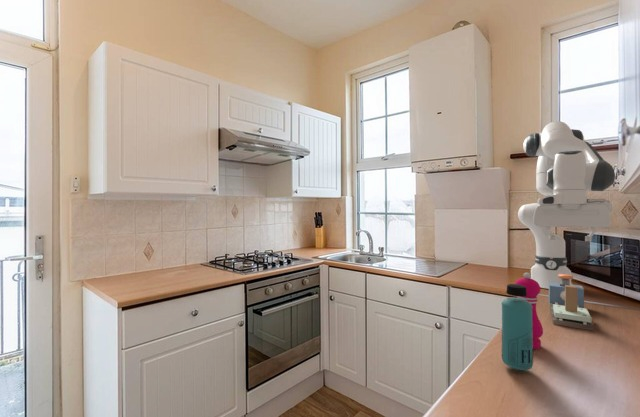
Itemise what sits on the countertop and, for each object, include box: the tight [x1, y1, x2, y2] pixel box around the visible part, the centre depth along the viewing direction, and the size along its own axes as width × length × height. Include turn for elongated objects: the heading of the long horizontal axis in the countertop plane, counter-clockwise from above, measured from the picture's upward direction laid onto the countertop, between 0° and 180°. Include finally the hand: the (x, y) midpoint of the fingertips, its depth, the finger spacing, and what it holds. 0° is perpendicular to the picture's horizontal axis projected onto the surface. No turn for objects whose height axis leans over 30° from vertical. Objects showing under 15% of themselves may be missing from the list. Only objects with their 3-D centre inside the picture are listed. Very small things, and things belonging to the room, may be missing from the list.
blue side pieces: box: [548, 282, 585, 308], centre depth 119 cm, size 6×10×8 cm, turn 57°
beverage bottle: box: [500, 283, 535, 371], centre depth 75 cm, size 6×7×20 cm
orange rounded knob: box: [558, 274, 574, 287], centre depth 119 cm, size 4×4×5 cm
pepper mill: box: [514, 272, 544, 350], centre depth 88 cm, size 7×7×20 cm
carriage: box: [553, 285, 592, 323], centre depth 104 cm, size 10×9×10 cm
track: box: [549, 302, 595, 331], centre depth 108 cm, size 20×10×2 cm, turn 147°
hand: (569, 241), depth 105 cm, fingers open, 8 cm apart
